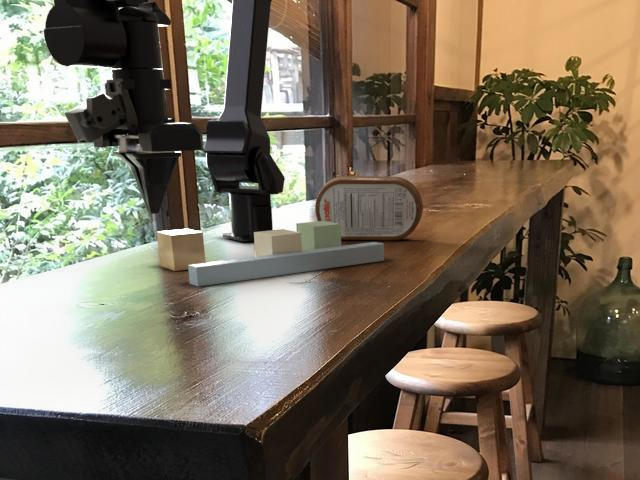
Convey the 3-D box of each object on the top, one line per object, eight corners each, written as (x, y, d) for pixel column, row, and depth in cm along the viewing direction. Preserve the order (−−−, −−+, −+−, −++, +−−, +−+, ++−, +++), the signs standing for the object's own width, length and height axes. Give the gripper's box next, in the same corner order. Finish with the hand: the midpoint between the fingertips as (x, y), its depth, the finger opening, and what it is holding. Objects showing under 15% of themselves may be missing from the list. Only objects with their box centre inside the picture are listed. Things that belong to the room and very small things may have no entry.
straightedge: (189, 283, 86) (187, 264, 85) (374, 258, 100) (374, 241, 99) (198, 286, 85) (196, 267, 84) (384, 260, 98) (384, 243, 98)
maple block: (160, 266, 96) (156, 231, 94) (191, 262, 98) (187, 228, 97) (174, 271, 93) (171, 235, 92) (206, 267, 95) (202, 232, 94)
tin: (422, 238, 115) (423, 175, 111) (421, 241, 112) (422, 177, 108) (317, 237, 116) (315, 175, 113) (314, 241, 113) (312, 177, 110)
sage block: (297, 256, 102) (296, 223, 100) (323, 253, 104) (322, 220, 102) (315, 260, 99) (313, 226, 97) (341, 257, 101) (340, 223, 99)
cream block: (255, 267, 95) (253, 232, 93) (284, 263, 97) (283, 229, 95) (273, 272, 92) (271, 235, 90) (302, 268, 94) (301, 232, 93)
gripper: (40, 71, 94) (62, 211, 101) (97, 64, 81) (119, 226, 87) (131, 73, 100) (146, 205, 107) (198, 66, 87) (211, 218, 93)
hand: (153, 213), depth 99 cm, fingers closed
